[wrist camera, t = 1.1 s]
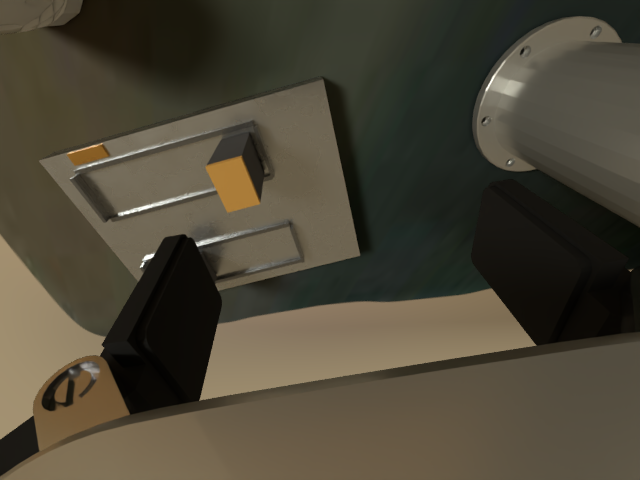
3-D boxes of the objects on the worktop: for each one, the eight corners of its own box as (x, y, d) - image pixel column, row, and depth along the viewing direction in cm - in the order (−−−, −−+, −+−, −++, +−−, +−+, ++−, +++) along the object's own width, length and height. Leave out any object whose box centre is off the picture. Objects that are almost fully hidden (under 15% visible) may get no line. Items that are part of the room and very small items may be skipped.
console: (320, 75, 25) (324, 81, 23) (356, 245, 35) (362, 261, 33) (53, 152, 26) (30, 165, 24) (163, 293, 37) (154, 312, 34)
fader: (249, 131, 25) (241, 157, 20) (264, 171, 27) (260, 204, 22) (220, 139, 25) (205, 167, 20) (237, 179, 27) (227, 212, 22)
